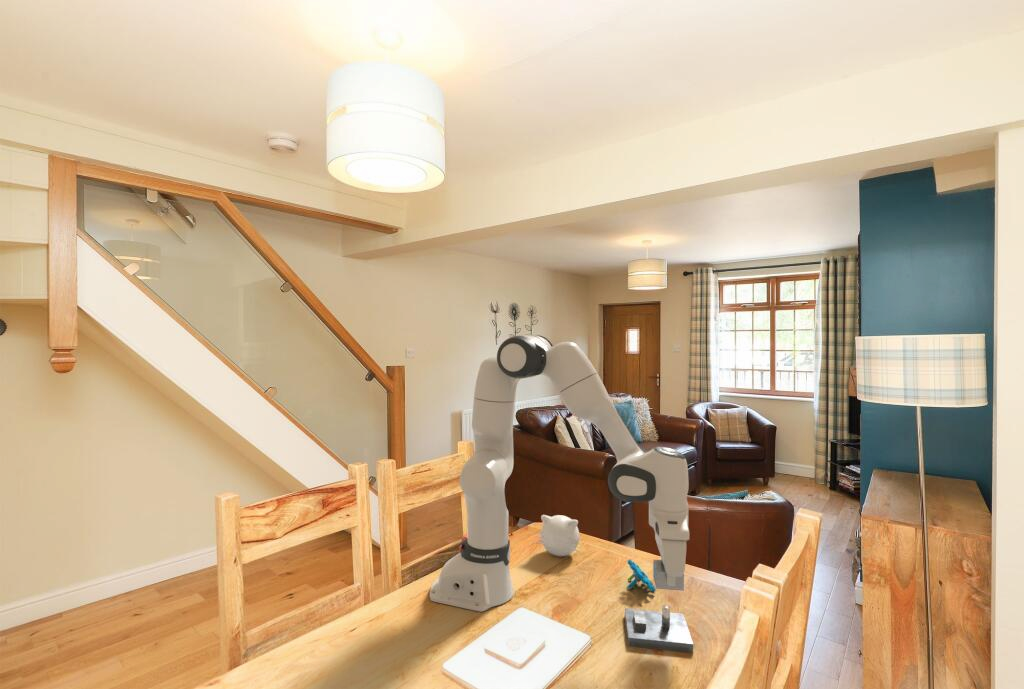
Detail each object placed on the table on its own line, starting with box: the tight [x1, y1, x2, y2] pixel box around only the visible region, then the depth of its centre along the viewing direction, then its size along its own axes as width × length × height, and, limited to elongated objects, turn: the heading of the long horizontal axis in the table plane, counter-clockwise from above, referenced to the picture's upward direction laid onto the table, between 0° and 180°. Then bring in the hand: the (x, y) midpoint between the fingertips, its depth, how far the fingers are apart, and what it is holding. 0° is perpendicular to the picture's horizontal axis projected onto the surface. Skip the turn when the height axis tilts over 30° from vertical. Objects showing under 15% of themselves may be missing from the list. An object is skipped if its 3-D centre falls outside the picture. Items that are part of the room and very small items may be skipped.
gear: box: [626, 559, 657, 593], centre depth 139 cm, size 11×6×10 cm
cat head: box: [533, 514, 580, 557], centre depth 159 cm, size 15×13×12 cm
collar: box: [652, 559, 685, 591], centre depth 118 cm, size 6×6×4 cm
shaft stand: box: [624, 604, 694, 654], centre depth 118 cm, size 14×12×6 cm
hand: (668, 576), depth 118 cm, fingers closed on collar, 6 cm apart
